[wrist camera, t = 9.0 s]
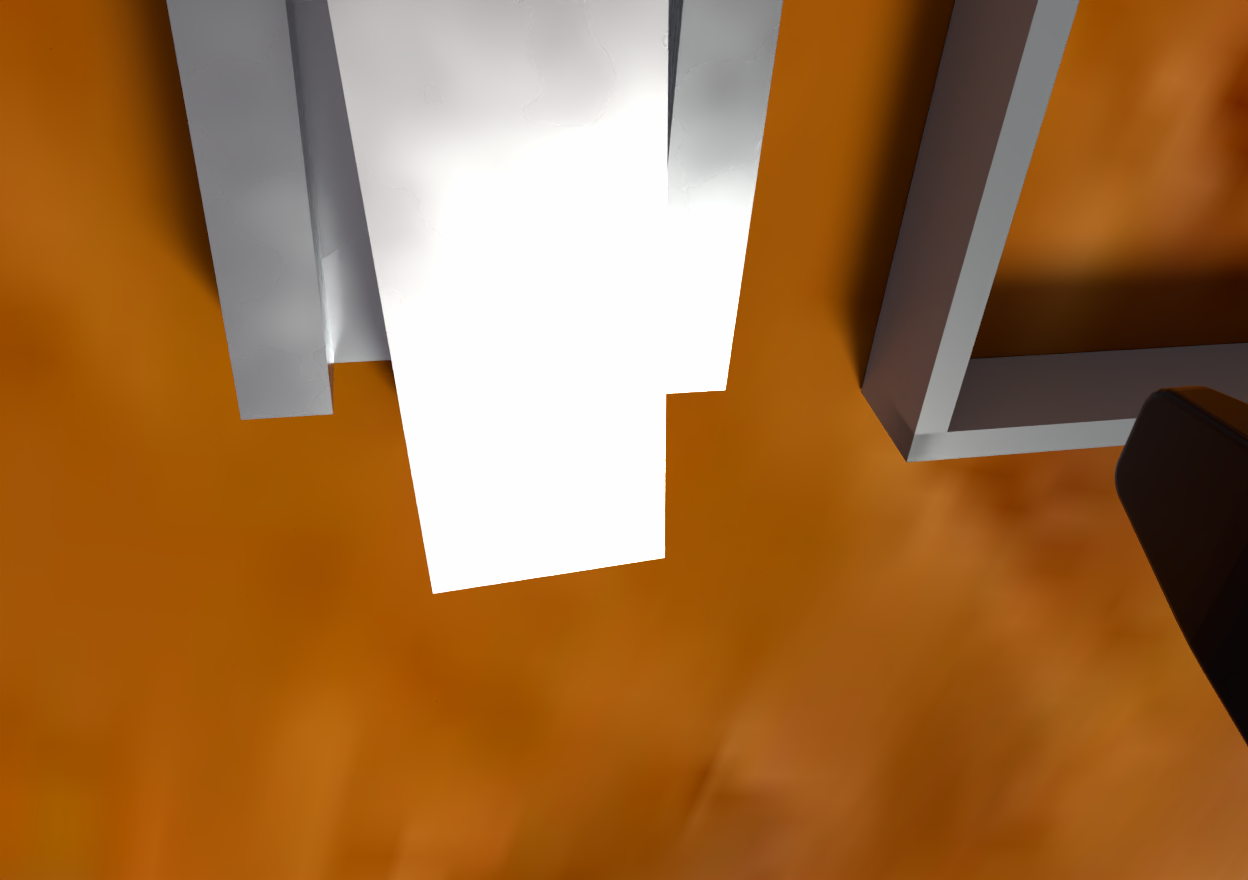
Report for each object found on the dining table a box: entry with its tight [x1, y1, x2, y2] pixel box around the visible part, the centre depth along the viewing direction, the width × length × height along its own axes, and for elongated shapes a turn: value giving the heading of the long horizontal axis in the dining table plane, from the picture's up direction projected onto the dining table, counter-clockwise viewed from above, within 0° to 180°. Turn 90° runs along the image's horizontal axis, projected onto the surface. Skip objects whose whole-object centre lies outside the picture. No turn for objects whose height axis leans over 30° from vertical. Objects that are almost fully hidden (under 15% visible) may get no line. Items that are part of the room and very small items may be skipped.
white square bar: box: [327, 0, 669, 594], centre depth 15 cm, size 4×16×4 cm, turn 1°
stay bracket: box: [166, 0, 783, 420], centre depth 17 cm, size 8×12×2 cm
